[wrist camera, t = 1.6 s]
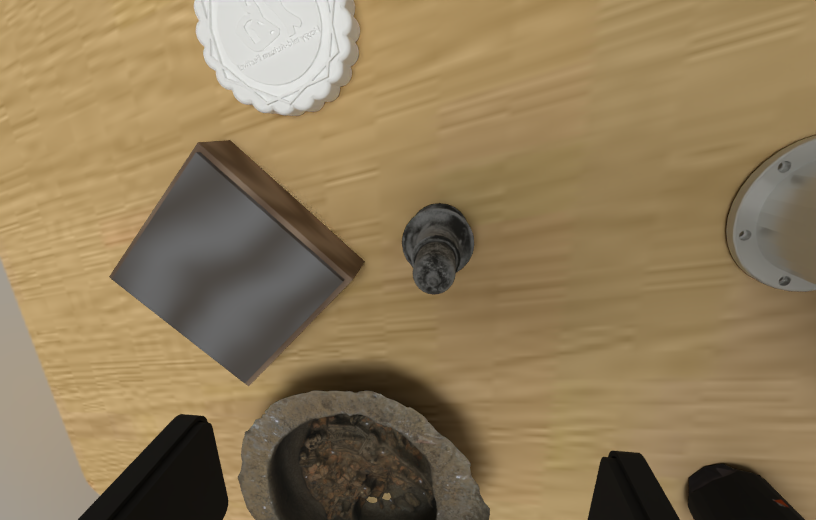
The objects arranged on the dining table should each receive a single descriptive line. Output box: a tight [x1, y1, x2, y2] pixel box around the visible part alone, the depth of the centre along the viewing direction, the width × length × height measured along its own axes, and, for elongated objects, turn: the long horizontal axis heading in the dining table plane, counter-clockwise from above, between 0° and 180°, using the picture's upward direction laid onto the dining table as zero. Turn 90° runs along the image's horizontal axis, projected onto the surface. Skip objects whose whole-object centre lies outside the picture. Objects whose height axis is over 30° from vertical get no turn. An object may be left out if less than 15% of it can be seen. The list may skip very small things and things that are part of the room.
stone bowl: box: [238, 390, 490, 520], centre depth 40 cm, size 25×25×9 cm
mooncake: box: [194, 0, 360, 116], centre depth 29 cm, size 12×12×4 cm
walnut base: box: [109, 140, 365, 386], centre depth 35 cm, size 16×16×5 cm
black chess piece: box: [402, 203, 474, 294], centre depth 29 cm, size 6×6×12 cm
